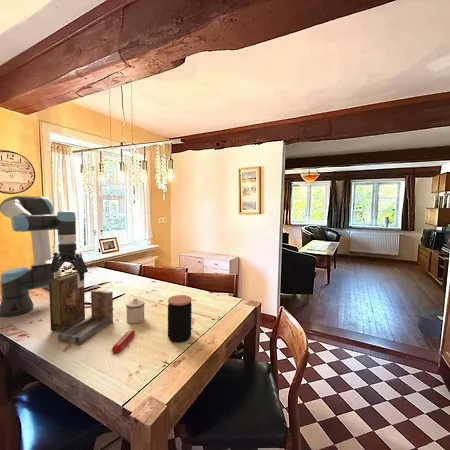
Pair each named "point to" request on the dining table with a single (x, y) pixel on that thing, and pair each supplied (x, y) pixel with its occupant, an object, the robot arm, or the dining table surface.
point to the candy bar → (123, 341)
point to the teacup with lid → (135, 311)
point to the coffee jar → (179, 318)
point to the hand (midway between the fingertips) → (68, 286)
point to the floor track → (98, 310)
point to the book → (66, 302)
